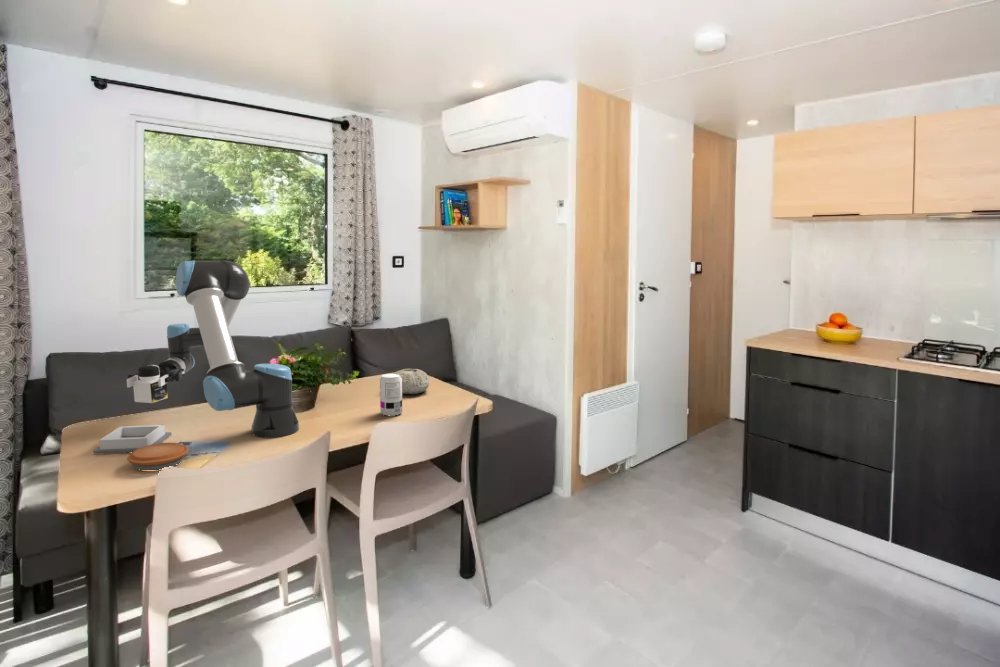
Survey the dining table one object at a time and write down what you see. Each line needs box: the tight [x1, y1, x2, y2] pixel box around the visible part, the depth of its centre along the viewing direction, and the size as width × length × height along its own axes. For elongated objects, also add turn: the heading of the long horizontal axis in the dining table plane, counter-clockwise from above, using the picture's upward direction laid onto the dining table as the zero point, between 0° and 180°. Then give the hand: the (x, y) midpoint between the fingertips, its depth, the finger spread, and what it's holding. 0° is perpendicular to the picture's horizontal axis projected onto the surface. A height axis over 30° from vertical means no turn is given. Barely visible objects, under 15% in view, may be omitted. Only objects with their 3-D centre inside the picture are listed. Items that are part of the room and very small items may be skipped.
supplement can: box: [379, 373, 403, 417], centre depth 218 cm, size 8×8×15 cm
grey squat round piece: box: [392, 368, 430, 395], centre depth 251 cm, size 18×18×10 cm
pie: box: [126, 442, 190, 470], centre depth 166 cm, size 15×16×5 cm
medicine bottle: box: [132, 364, 169, 404], centre depth 196 cm, size 7×7×12 cm
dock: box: [92, 424, 172, 454], centre depth 182 cm, size 16×16×4 cm
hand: (143, 383), depth 191 cm, fingers closed on medicine bottle, 9 cm apart
